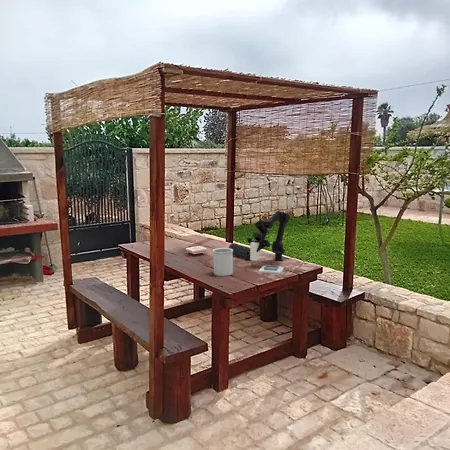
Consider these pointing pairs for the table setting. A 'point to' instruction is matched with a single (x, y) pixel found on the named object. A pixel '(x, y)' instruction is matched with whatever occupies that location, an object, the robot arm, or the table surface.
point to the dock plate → (271, 269)
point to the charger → (254, 251)
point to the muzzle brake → (240, 250)
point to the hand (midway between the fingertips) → (253, 251)
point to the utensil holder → (223, 261)
